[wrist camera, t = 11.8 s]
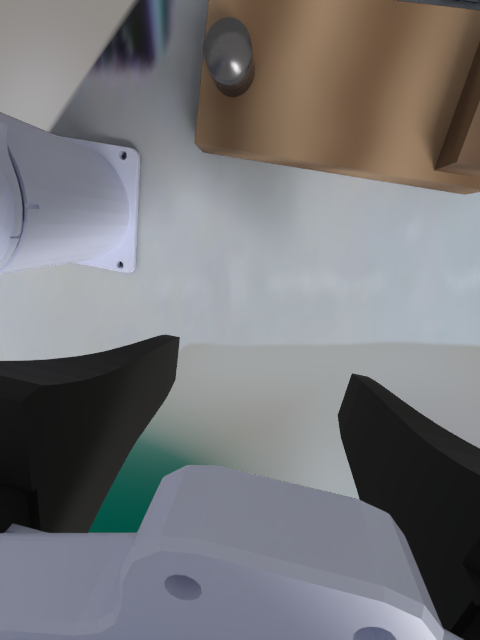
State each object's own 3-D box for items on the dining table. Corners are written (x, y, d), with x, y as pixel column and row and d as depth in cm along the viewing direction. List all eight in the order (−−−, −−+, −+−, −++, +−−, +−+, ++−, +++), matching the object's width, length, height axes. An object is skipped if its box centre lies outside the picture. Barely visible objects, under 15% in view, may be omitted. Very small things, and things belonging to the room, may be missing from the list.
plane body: (203, 152, 18) (183, 131, 14) (218, 8, 15) (199, -62, 12) (464, 194, 17) (519, 184, 13) (523, 47, 14) (610, -17, 11)
